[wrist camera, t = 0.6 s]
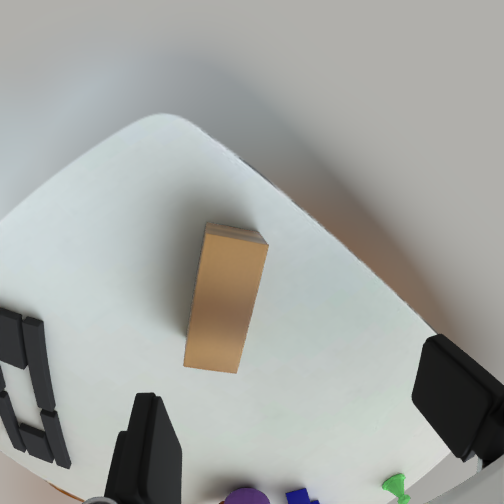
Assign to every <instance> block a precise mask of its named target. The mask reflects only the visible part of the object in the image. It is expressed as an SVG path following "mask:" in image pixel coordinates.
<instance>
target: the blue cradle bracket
mask: <svg viewBox="0 0 504 504" xmlns="http://www.w3.org/2000/svg"><path fill="white" fill-rule="evenodd" d="M286 497H287V501H288V504H319V501H318V500H317V501H314V502H310V499H309V496H308V493H307V490H306V488H304V489H301V490H297V491H293V492H289V493H286Z"/></svg>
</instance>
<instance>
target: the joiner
mask: <svg viewBox="0 0 504 504" xmlns="http://www.w3.org/2000/svg"><path fill="white" fill-rule="evenodd" d="M268 247H269V245H268V244H267V242H266V241H265V240H264V238H263V237H262V236H261V234H260V233H259V232H256V231H250V230H245V229H240V228H235V227H230V226H225V225H220V224H214V223H209V222H207V223H206V228H205V233H204V238H203V243H202V248H201V254H200V259H199V265H198V270H197V276H196V281H195V287H194V293H193V299H192V305H191V311H190V317H189V323H188V330H187V336H186V344H185V354H184V364H183V366H184V367H190V368H197V369H204V370H211V371H219V372H227V373H237V371H238V367H239V363H240V359H241V355H242V351H243V347H244V343H245V339H246V335H247V331H248V328H249V324H250V320H251V316H252V312H253V308H254V304H255V300H256V296H257V292H258V287H259V283H260V279H261V275H262V271H263V267H264V263H265V259H266V255H267V251H268Z"/></svg>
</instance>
